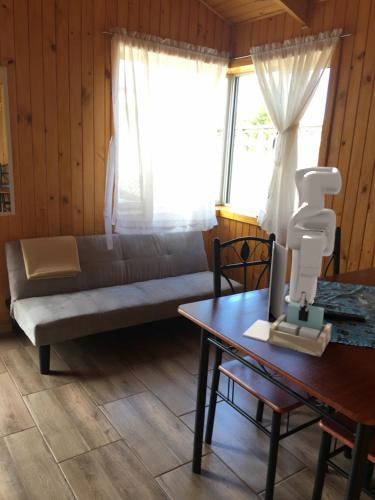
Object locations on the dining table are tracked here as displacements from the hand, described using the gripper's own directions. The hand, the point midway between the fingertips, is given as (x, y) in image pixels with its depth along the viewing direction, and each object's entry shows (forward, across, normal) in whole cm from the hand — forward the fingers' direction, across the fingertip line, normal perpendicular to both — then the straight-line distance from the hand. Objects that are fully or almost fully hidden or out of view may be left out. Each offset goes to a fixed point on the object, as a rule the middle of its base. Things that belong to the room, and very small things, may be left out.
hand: (304, 318), depth 150 cm
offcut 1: (+8, +7, -4) cm, 11 cm away
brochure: (+8, -13, -15) cm, 21 cm away
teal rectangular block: (+7, 0, 0) cm, 7 cm away
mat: (+7, +3, -14) cm, 17 cm away
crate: (+7, +4, 0) cm, 9 cm away
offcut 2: (+8, +7, +4) cm, 11 cm away
